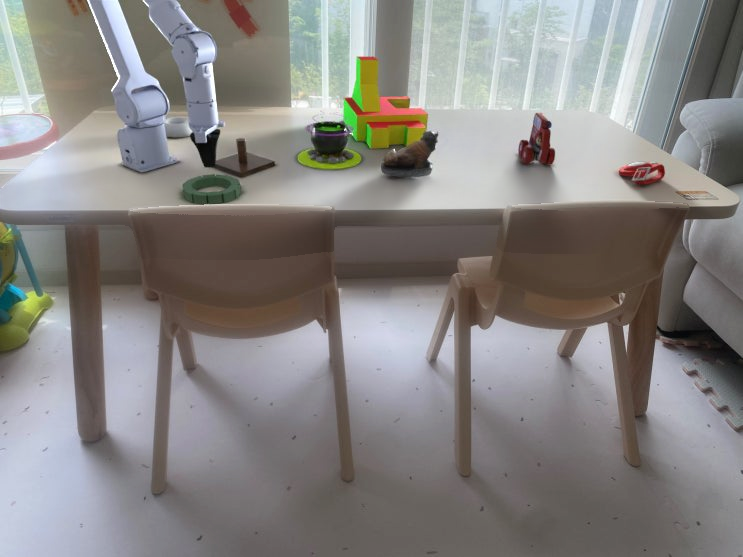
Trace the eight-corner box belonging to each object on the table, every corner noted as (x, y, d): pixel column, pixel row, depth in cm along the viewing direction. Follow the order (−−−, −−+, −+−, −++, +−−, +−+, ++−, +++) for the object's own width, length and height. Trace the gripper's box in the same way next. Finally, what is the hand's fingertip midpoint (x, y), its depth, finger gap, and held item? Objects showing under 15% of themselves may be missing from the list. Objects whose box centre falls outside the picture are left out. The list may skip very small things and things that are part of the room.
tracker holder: (609, 165, 126) (651, 155, 125) (611, 183, 127) (652, 173, 127) (636, 171, 114) (682, 161, 114) (637, 191, 116) (682, 181, 115)
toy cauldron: (372, 156, 128) (374, 109, 122) (338, 174, 117) (338, 124, 111) (321, 144, 134) (321, 99, 128) (284, 160, 123) (282, 112, 117)
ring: (250, 197, 105) (249, 188, 104) (194, 209, 99) (193, 200, 98) (228, 178, 112) (227, 170, 111) (175, 188, 107) (173, 180, 106)
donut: (189, 141, 133) (204, 129, 141) (187, 127, 131) (202, 116, 139) (151, 138, 133) (168, 126, 142) (148, 124, 132) (165, 113, 140)
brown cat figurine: (380, 180, 115) (382, 134, 110) (380, 168, 121) (382, 124, 116) (435, 182, 115) (440, 136, 110) (432, 171, 121) (437, 127, 116)
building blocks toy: (361, 148, 132) (363, 71, 123) (343, 120, 153) (344, 53, 143) (432, 146, 136) (440, 71, 127) (405, 119, 157) (410, 53, 147)
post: (241, 177, 113) (238, 150, 110) (210, 166, 118) (207, 139, 115) (275, 165, 120) (273, 139, 117) (244, 155, 125) (242, 130, 122)
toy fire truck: (525, 168, 125) (534, 124, 119) (515, 151, 135) (523, 110, 130) (555, 170, 125) (565, 125, 119) (543, 152, 135) (552, 111, 130)
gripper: (218, 109, 99) (226, 178, 106) (225, 91, 111) (231, 154, 118) (179, 109, 98) (189, 179, 105) (190, 91, 110) (198, 155, 117)
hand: (209, 166), depth 111 cm, fingers closed
